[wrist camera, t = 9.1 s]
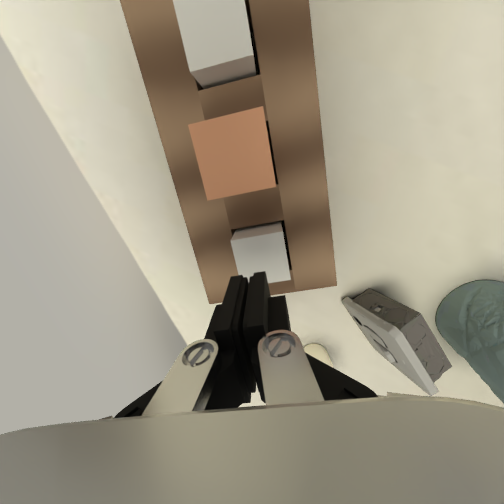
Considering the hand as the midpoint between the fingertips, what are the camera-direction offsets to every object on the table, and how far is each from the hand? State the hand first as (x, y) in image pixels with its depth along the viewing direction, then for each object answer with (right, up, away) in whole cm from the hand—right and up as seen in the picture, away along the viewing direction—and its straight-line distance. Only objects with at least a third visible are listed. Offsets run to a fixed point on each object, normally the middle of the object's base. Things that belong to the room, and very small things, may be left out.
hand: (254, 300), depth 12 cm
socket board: (0, +11, +12) cm, 16 cm away
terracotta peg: (-1, +10, +8) cm, 12 cm away
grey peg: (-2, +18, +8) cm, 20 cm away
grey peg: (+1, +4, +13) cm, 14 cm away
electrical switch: (+14, -5, +17) cm, 22 cm away
